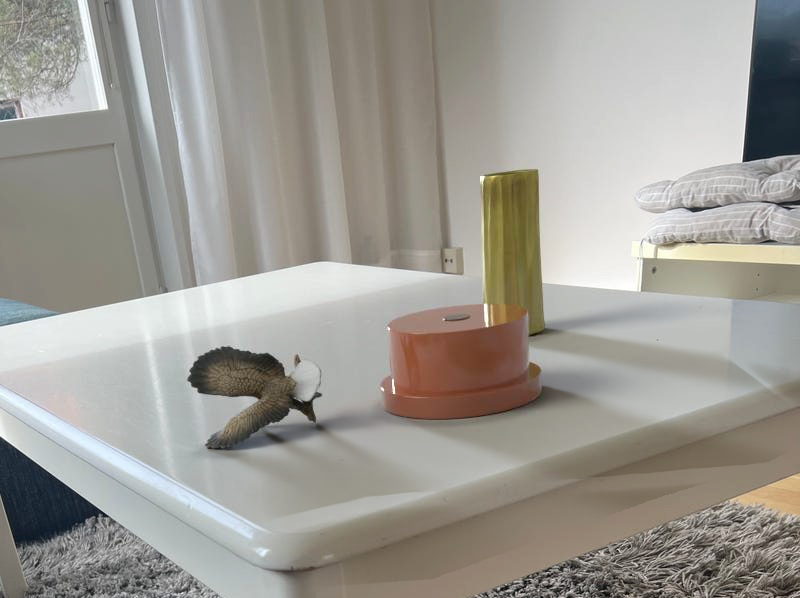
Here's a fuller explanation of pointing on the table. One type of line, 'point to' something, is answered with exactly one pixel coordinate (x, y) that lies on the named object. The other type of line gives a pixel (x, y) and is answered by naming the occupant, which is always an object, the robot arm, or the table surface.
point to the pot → (460, 362)
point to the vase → (512, 242)
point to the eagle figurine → (255, 389)
